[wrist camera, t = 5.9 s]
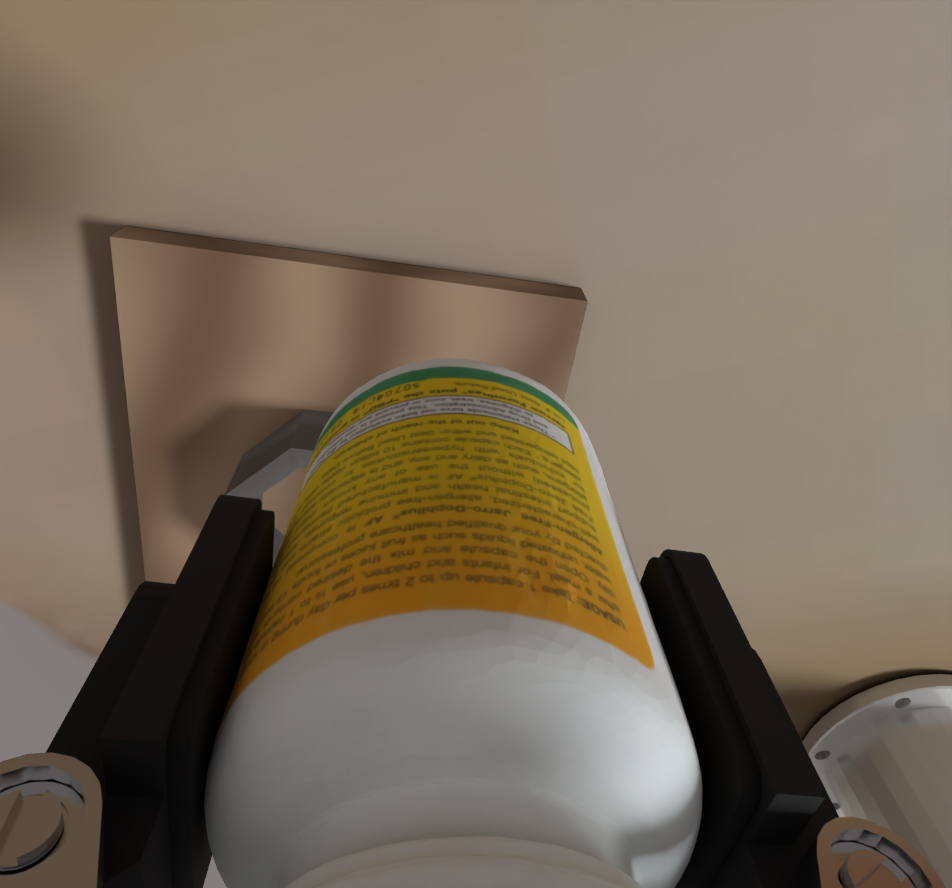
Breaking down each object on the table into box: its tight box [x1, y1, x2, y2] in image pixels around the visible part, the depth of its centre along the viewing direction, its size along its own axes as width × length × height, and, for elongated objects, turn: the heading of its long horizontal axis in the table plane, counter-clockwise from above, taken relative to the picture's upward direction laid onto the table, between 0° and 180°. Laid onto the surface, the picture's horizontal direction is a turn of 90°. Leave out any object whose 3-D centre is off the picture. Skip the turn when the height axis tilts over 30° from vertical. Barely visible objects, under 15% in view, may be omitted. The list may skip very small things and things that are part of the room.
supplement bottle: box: [204, 358, 702, 888], centre depth 9 cm, size 5×5×10 cm
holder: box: [110, 226, 588, 584], centre depth 30 cm, size 17×20×4 cm
